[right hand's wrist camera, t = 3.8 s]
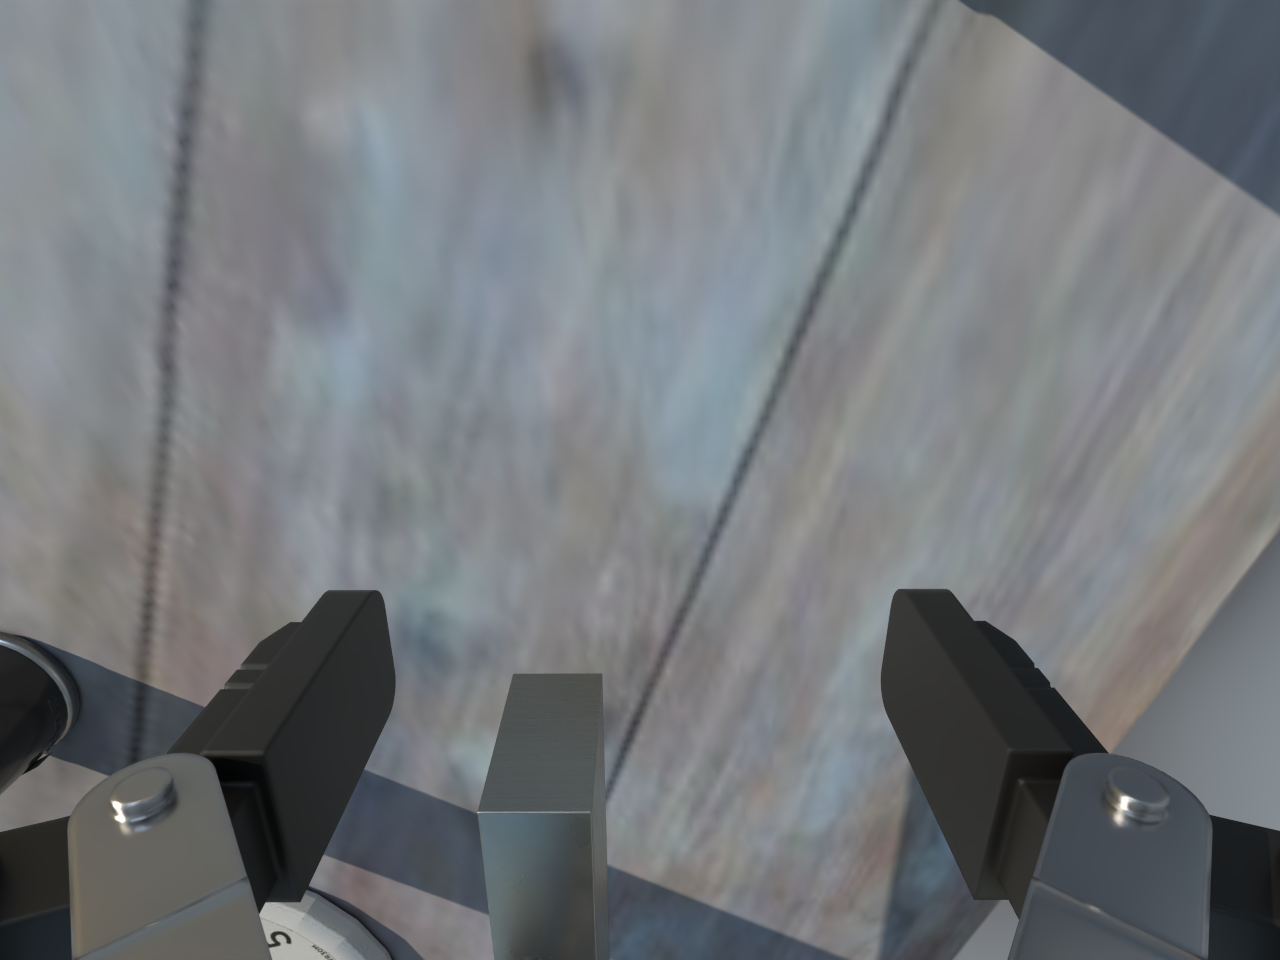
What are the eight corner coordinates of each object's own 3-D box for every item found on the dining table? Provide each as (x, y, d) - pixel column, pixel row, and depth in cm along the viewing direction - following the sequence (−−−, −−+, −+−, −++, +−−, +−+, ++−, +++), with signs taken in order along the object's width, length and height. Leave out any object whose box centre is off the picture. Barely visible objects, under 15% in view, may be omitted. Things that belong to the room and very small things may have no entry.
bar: (513, 673, 38) (477, 812, 30) (602, 673, 38) (591, 812, 30) (537, 969, 46) (514, 1142, 38) (610, 968, 47) (603, 1142, 38)
